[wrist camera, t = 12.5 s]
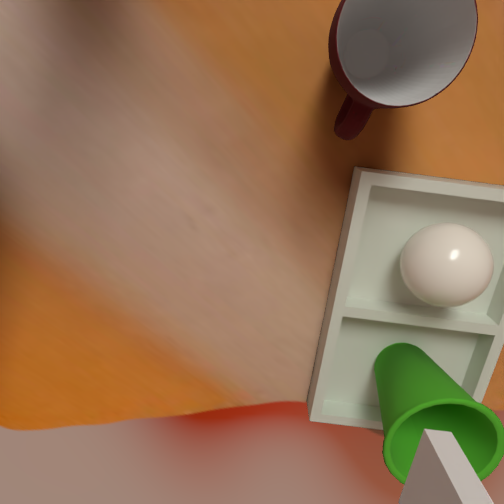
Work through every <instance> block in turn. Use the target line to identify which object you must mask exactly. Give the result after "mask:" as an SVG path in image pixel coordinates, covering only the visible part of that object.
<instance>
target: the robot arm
mask: <svg viewBox="0 0 504 504" xmlns="http://www.w3.org/2000/svg"><path fill="white" fill-rule="evenodd" d="M399 504H494V503H493V501H492V500H491V498H490V496H489V495H488V493H487V491H486V490H485V488H484V486H483V484H482V483H481V481H480V479H479V478H478V476H477V474H476V473H475V471H474V469H473V468H472V466H471V464H470V463H469V461H468V459H467V457H466V456H465V454H464V452H463V451H462V449H461V447H460V446H459V444H458V442H457V441H456V439H455V437H454V436H453V434H452V432H447V431H439V430H431V429H424V431H423V433H422V436H421V439H420V442H419V445H418V448H417V451H416V453H415V456H414V459H413V462H412V465H411V468H410V470H409V473H408V476H407V479H406V482H405V485H404V488H403V491H402V493H401V496H400V499H399Z"/></svg>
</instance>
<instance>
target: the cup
mask: <svg viewBox="0 0 504 504" xmlns="http://www.w3.org/2000/svg"><path fill="white" fill-rule="evenodd" d="M374 371H375V378H376V384H377V391H378V398H379V404H380V411H381V418H382V424H383V431H384V437H385V438H384V441H383V451H382V453H383V457H384V462H385V464H386V466H387V467H388V469H389V471H390V473H391V474H392V475H393V476H394V477H396V478H397V479H398V480H399V481H400V482H401V483H402V484H404V485H405V482H406V479H407V476H408V473H409V470H410V468H411V465H412V462H413V459H414V456H415V453H416V451H417V448H418V445H419V442H420V439H421V436H422V433H423V431H424V429H431V430H439V431H447V432H452V434H453V436H454V437H455V439H456V441H457V442H458V444H459V446H460V447H461V449H462V451H463V452H464V454H465V456H466V457H467V459H468V461H469V463H470V464H471V466H472V468H473V469H474V471H475V473H476V474H477V476H478V478H479V479H480V481H482V480H483V479H485V478H486V477H487V476H489V475H490V474H491V473H492V472H493V470H494V469H495V468H496V467H497V466H498V464H499V462H500V461H501V459H502V457H503V455H504V428H503V425H502V423H501V421H500V419H499V418H498V417H497V416H496V414H494V412H493V411H492V410H491V409H489V408H487V407H486V406H484V405H483V404H481V403H479V402H476V401H475V400H474V399H473V398H472V397H471V396H470V395H469V394H468V393H467V392H466V391H465V390H464V389H463V388H461V387H460V386H459V385H458V384H457V383H456V382H455V381H454V380H453V379H452V378H451V377H450V376H449V375H448V374H447V373H446V372H445V371H444V370H443V369H442V368H441V367H440V366H438V365H437V364H436V363H435V362H434V361H433V360H432V359H431V358H430V357H429V356H428V355H427V354H426V353H425V352H424V351H423V350H422V349H420V348H419V347H417V346H415V345H412V344H409V343H402V342H401V343H395V344H392V345H389V346H387V347H386V348H384V349H383V350H382V351H381V352H380V353H379V355H378V356H377V359H376V362H375V366H374Z"/></svg>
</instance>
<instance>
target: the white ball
mask: <svg viewBox="0 0 504 504" xmlns="http://www.w3.org/2000/svg"><path fill="white" fill-rule="evenodd" d="M493 271H494V259H493V255H492V252H491V249H490V247H489V245H488V244H487V242H486V241H485V240H484V238H483V237H482V236H481V235H480V234H478V233H477V232H476V231H474V230H473V229H471V228H469V227H467V226H464V225H462V224H458V223H452V222H440V223H435V224H431V225H428V226H426V227H423V228H422V229H420V230H418V231H417V232H416V233H414V234H413V235H412V236H411V237H410V238H409V240H408V241H407V242H406V244H405V246H404V248H403V250H402V253H401V257H400V272H401V275H402V279H403V281H404V283H405V284H406V286H407V288H408V289H409V290H410V291H411V292H412V293H413V294H414V295H415V296H416V297H417V298H419V299H420V300H422V301H423V302H426V303H428V304H431V305H434V306H438V307H457V306H461V305H464V304H467V303H469V302H471V301H473V300H475V299H476V298H478V297H479V296H480V295H481V294H482V293H483V292H484V291H485V290H486V288H487V287H488V285H489V283H490V281H491V279H492V276H493Z"/></svg>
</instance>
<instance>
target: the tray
mask: <svg viewBox="0 0 504 504" xmlns="http://www.w3.org/2000/svg"><path fill="white" fill-rule="evenodd" d="M440 222H452V223H458V224H462V225H464V226H467V227H469V228H471V229H473V230H474V231H476V232H477V233H478V234H480V235H481V236H482V237H483V238H484V240H485V241H486V242H487V244H488V245H489V247H490V249H491V252H492V255H493V259H494V271H493V276H492V279H491V281H490V283H489V285H488V287H487V288H486V290H485V291H484V292H483V293H482V294H481V295H480V296H479V297H478V298H476V299H475V300H473V301H471V302H469V303H467V304H464V305H461V306H457V307H438V306H434V305H431V304H428V303H426V302H423V301H422V300H420V299H419V298H417V297H416V296H415V295H414V294H413V293H412V292H411V291H410V290H409V289H408V288H407V286H406V284H405V283H404V281H403V279H402V275H401V272H400V257H401V253H402V250H403V248H404V246H405V244H406V242H407V241H408V240H409V238H410V237H411V236H412V235H413V234H414V233H416V232H417V231H418V230H420V229H422V228H423V227H426V226H428V225H431V224H435V223H440ZM401 342H402V343H409V344H412V345H415V346H417V347H419V348H420V349H422V350H423V351H424V352H425V353H426V354H427V355H428V356H429V357H430V358H431V359H432V360H433V361H434V362H435V363H436V364H437V365H438V366H440V367H441V368H442V369H443V370H444V371H445V372H446V373H447V374H448V375H449V376H450V377H451V378H452V379H453V380H454V381H455V382H456V383H457V384H458V385H459V386H460V387H461V388H463V389H464V390H465V391H466V392H467V393H468V394H469V395H470V396H471V397H472V398H473V399H474V400H475V401H476V402H479V403H481V402H482V400H483V397H484V394H485V392H486V389H487V386H488V384H489V381H490V378H491V376H492V373H493V370H494V368H495V365H496V362H497V360H498V357H499V354H500V352H501V349H502V346H503V344H504V186H503V185H496V184H488V183H480V182H472V181H465V180H457V179H449V178H441V177H434V176H426V175H418V174H410V173H403V172H395V171H387V170H379V169H372V168H364V167H356V166H354V170H353V175H352V180H351V185H350V190H349V195H348V200H347V205H346V210H345V215H344V220H343V225H342V230H341V234H340V239H339V244H338V249H337V254H336V259H335V264H334V269H333V274H332V279H331V284H330V289H329V294H328V299H327V303H326V308H325V313H324V318H323V323H322V328H321V333H320V338H319V343H318V348H317V353H316V358H315V363H314V367H313V372H312V377H311V382H310V387H309V392H308V397H307V406H308V414H309V421H314V422H322V423H330V424H338V425H346V426H355V427H362V428H370V429H378V430H383V424H382V418H381V411H380V404H379V398H378V391H377V384H376V378H375V371H374V366H375V362H376V359H377V356H378V355H379V353H380V352H381V351H382V350H383V349H384V348H386V347H387V346H389V345H392V344H395V343H401Z"/></svg>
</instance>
